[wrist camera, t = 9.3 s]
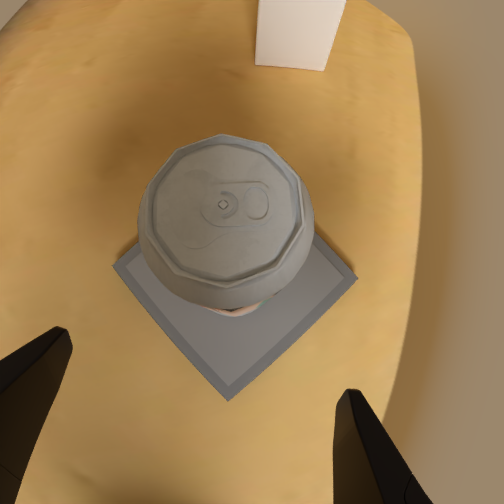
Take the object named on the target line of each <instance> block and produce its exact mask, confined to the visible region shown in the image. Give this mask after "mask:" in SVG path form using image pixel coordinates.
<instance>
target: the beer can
mask: <svg viewBox="0 0 504 504" xmlns="http://www.w3.org/2000/svg"><path fill="white" fill-rule="evenodd" d="M137 223H138V236H139V243H140V246H141V250H142V252H143V255H144V258H145V261H146V263H147V265H148V266H149V268H150V270H151V271H152V272H153V273H154V274H155V276H156V277H157V278H158V279H159V281H160V282H161V283H162V284H163V285H164V286H165V287H166V288H167V289H168V290H170V291H171V292H172V293H173V294H175V295H177V296H179V297H180V298H182V299H184V300H186V301H188V302H190V303H193V304H197V305H200V306H202V307H204V308H207V309H209V310H211V311H213V312H215V313H217V314H220V315H224V316H229V317H237V316H243V315H246V314H248V313H251V312H253V311H254V310H256V309H258V308H259V307H261V306H262V305H263V304H264V303H266V302H267V301H268V300H269V299H271V298H272V297H273V296H274V295H276V294H277V293H278V292H280V291H281V290H282V289H283V288H284V287H285V286H286V285H287V284H288V283H289V282H290V281H291V280H292V279H293V278H294V277H295V275H296V274H297V272H298V271H299V269H300V268H301V267H302V265H303V264H304V262H305V261H306V259H307V256H308V254H309V251H310V247H311V244H312V240H313V236H314V211H313V207H312V203H311V199H310V195H309V192H308V190H307V188H306V186H305V184H304V182H303V181H302V179H301V177H300V176H299V175H298V174H297V173H296V172H295V171H294V169H293V168H292V167H291V166H290V165H289V164H288V163H287V162H286V161H285V160H284V159H283V158H282V157H280V156H279V155H278V154H277V153H276V152H275V151H274V150H273V149H272V148H271V147H270V146H269V145H268V144H266V143H262V142H257V141H253V140H249V139H244V138H240V137H235V136H231V135H226V134H218V135H215V136H212V137H209V138H206V139H203V140H200V141H197V142H194V143H191V144H188V145H185V146H183V147H180V148H177V149H176V150H175V151H174V152H173V153H172V154H171V156H170V157H169V158H168V159H167V161H166V162H165V163H164V164H163V165H162V166H161V168H160V169H159V170H158V172H157V173H156V174H155V176H154V177H153V178H152V180H151V181H150V182H149V183H148V185H147V188H146V190H145V192H144V194H143V197H142V200H141V203H140V207H139V213H138V220H137Z"/></svg>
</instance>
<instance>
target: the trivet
mask: <svg viewBox="0 0 504 504" xmlns="http://www.w3.org/2000/svg"><path fill="white" fill-rule="evenodd" d="M112 266H113V268H114V269H115V271H116V272H117V273H118V275H119V276H120V277H121V279H122V280H123V281H124V282H125V284H126V285H127V286H128V288H129V289H130V290H131V292H132V293H133V294H134V295H135V297H136V298H137V299H138V300H139V302H140V303H141V304H142V306H143V307H144V308H145V309H146V310H147V312H148V313H149V314H150V315H151V317H152V318H153V319H154V320H155V321H156V323H157V324H158V325H159V326H160V327H161V329H162V330H163V331H164V332H165V333H166V335H167V336H168V337H169V338H170V339H171V340H172V342H173V343H174V344H175V345H176V346H177V347H178V348H179V350H180V351H181V352H182V353H183V354H184V355H185V356H186V357H187V359H188V360H189V361H190V362H191V363H192V364H193V365H194V366H195V367H196V369H197V370H198V371H199V372H200V373H201V374H202V375H203V376H204V377H205V378H206V379H207V380H208V381H209V382H210V384H211V385H212V386H213V387H214V388H215V389H216V390H217V391H218V392H219V393H220V394H221V395H222V396H223V397H224V398H225V399H226V400H227V401H229V400H230V399H232V398H233V397H234V396H235V395H236V394H238V393H239V392H240V391H241V390H242V389H243V388H245V387H246V386H247V385H248V384H249V383H250V382H251V381H253V380H254V379H255V378H256V377H257V376H258V375H259V374H261V373H262V372H263V371H264V370H265V369H266V368H267V367H268V366H269V365H271V364H272V363H273V362H274V361H275V360H276V359H277V358H278V357H279V356H280V355H282V354H283V353H284V352H285V351H286V350H287V349H288V348H289V347H290V346H291V345H292V344H293V343H294V342H295V341H296V340H298V339H299V338H300V337H301V336H302V335H303V334H304V333H305V332H306V331H307V330H308V329H309V328H310V327H311V326H312V325H313V324H314V323H315V322H316V321H317V320H318V319H319V318H320V317H321V316H322V315H323V314H324V313H325V312H326V311H327V310H328V309H329V308H330V307H331V306H332V305H333V304H334V303H335V302H336V301H337V300H338V299H339V298H340V297H341V296H342V295H343V294H344V293H345V292H346V291H347V290H348V289H349V288H350V287H351V286H352V285H353V284H354V283H355V281H356V280H357V279H358V277H357V276H356V275H355V274H354V273H353V272H352V271H351V270H350V268H349V267H348V266H347V265H346V264H345V263H344V262H343V261H342V260H341V259H340V258H339V256H338V255H337V254H336V253H335V252H334V251H333V250H332V249H331V248H330V247H329V246H328V245H327V244H326V243H325V242H324V240H323V239H322V238H321V237H320V236H319V235H318V234H317V233H316V232H315V231H314V236H313V240H312V244H311V247H310V251H309V254H308V256H307V259H306V261H305V262H304V264H303V265H302V267H301V268H300V269H299V271H298V272H297V274H296V275H295V277H294V278H293V279H292V280H291V281H290V282H289V283H288V284H287V285H286V286H285V287H284V288H283V289H282V290H281V291H280V292H278V293H277V294H276V295H274V296H273V297H272V298H271V299H269V300H268V301H267V302H266V303H264V304H263V305H262V306H261V307H259V308H258V309H256V310H254V311H253V312H251V313H248V314H246V315H243V316H237V317H229V316H224V315H220V314H217V313H215V312H213V311H211V310H209V309H207V308H204V307H202V306H200V305H197V304H193V303H190V302H188V301H186V300H184V299H182V298H180V297H179V296H177V295H175V294H173V293H172V292H171V291H170V290H168V289H167V288H166V287H165V286H164V285H163V284H162V283H161V282H160V281H159V279H158V278H157V277H156V276H155V274H154V273H153V272H152V271H151V270H150V268H149V266H148V265H147V263H146V261H145V258H144V255H143V252H142V250H141V246H140V243H139V242H137V243H136V244H135V245H134V246H133V247H132V248H131V249H130V250H129V251H127V252H126V253H125V254H124V255H123V256H122V257H121V258H120V259H119V260H118V261H117V262H115V263H114V264H113V265H112Z"/></svg>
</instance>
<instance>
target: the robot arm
mask: <svg viewBox="0 0 504 504" xmlns="http://www.w3.org/2000/svg"><path fill="white" fill-rule="evenodd" d="M72 350H73V345H72V342H71V339H70V336H69V332H68V330H67V329H65V328H62V327H59V326H56V327H53V328H52V329H50V330H49V331H47V332H45V333H44V334H42V335H40V336H39V337H37V338H35V339H34V340H32V341H31V342H29V343H27V344H26V345H24V346H22V347H21V348H19V349H18V350H16V351H14V352H13V353H11V354H10V355H8V356H6V357H5V358H3V359H2V360H0V504H15V501H16V497H17V494H18V491H19V488H20V485H21V481H22V479H23V476H24V473H25V471H26V468H27V465H28V462H29V460H30V457H31V454H32V452H33V449H34V447H35V444H36V441H37V439H38V437H39V434H40V432H41V429H42V427H43V424H44V422H45V420H46V417H47V415H48V413H49V410H50V408H51V406H52V404H53V401H54V399H55V397H56V395H57V393H58V390H59V388H60V385H61V382H62V379H63V376H64V373H65V370H66V368H67V365H68V362H69V359H70V356H71V354H72ZM333 504H433V503H432V501H431V500H430V499H429V498H428V496H427V495H426V494H425V492H424V490H423V489H422V487H421V486H420V484H419V483H418V481H417V480H416V478H415V477H414V475H413V474H412V472H411V470H410V469H409V467H408V465H407V464H406V462H405V461H404V459H403V458H402V456H401V454H400V453H399V451H398V449H397V448H396V446H395V445H394V443H393V441H392V440H391V438H390V437H389V435H388V433H387V432H386V430H385V429H384V427H383V426H382V424H381V422H380V421H379V419H378V418H377V416H376V415H375V413H374V411H373V410H372V408H371V407H370V405H369V404H368V402H367V400H366V399H365V397H364V396H363V394H362V393H361V391H360V390H358V389H346V390H345V392H344V393H343V395H342V396H341V398H340V399H339V401H338V402H337V405H336V414H335V427H334V439H333Z"/></svg>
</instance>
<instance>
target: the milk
mask: <svg viewBox="0 0 504 504" xmlns="http://www.w3.org/2000/svg"><path fill="white" fill-rule="evenodd" d="M346 1H347V0H259V1H258V16H257V31H256V49H255V65H264V66H277V67H289V68H298V69H307V70H315V71H324V69H325V66H326V63H327V60H328V57H329V54H330V51H331V48H332V45H333V41H334V38H335V35H336V32H337V29H338V26H339V23H340V19H341V16H342V13H343V10H344V7H345V4H346Z"/></svg>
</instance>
